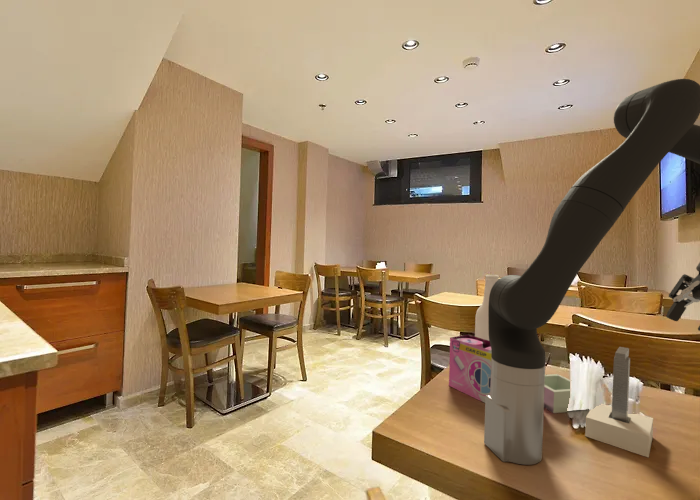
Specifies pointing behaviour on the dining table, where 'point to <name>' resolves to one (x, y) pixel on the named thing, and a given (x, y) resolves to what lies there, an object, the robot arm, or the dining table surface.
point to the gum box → (470, 366)
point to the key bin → (556, 393)
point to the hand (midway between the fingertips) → (686, 325)
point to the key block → (620, 430)
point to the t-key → (621, 385)
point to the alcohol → (484, 309)
